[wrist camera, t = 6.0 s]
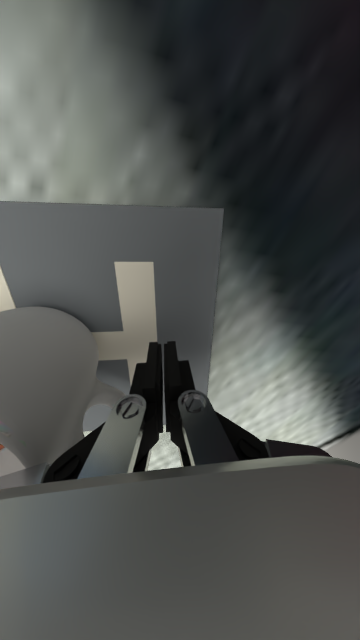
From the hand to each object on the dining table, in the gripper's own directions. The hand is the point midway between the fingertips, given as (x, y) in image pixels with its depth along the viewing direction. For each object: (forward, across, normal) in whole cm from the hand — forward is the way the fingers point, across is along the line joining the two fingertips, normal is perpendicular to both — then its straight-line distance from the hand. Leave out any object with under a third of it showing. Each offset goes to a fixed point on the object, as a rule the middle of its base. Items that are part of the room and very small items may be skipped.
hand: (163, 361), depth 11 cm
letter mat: (+3, +6, 0) cm, 7 cm away
